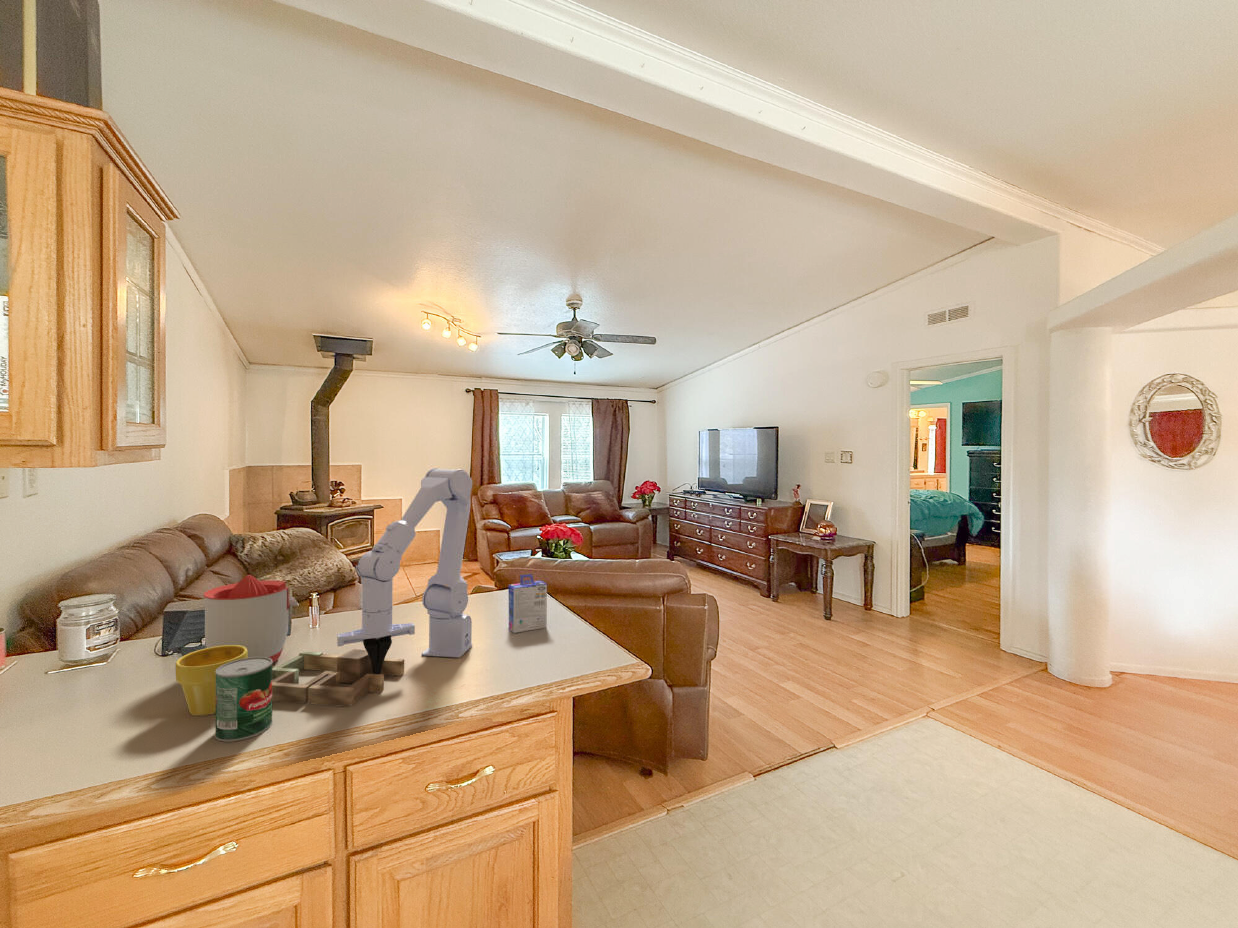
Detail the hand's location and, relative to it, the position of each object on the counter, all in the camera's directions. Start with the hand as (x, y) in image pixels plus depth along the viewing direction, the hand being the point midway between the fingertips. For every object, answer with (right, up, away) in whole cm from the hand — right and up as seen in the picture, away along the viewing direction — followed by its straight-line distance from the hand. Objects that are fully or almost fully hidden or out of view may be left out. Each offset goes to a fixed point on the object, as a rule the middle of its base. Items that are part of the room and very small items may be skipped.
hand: (376, 673), depth 106 cm
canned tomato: (-13, -2, -19) cm, 24 cm away
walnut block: (-5, -1, +1) cm, 5 cm away
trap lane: (-8, -1, -3) cm, 9 cm away
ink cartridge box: (+26, -2, +34) cm, 42 cm away
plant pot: (-25, -1, -12) cm, 27 cm away
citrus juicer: (-32, -1, +8) cm, 33 cm away
